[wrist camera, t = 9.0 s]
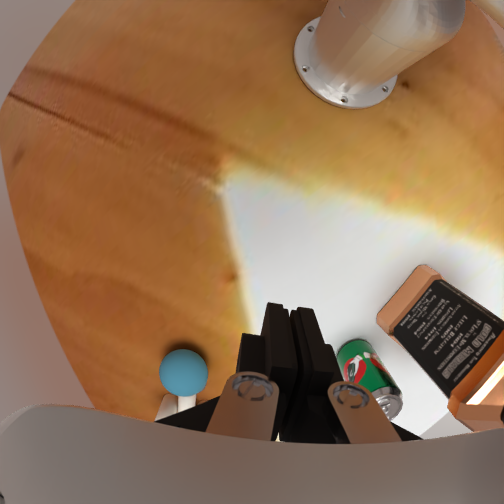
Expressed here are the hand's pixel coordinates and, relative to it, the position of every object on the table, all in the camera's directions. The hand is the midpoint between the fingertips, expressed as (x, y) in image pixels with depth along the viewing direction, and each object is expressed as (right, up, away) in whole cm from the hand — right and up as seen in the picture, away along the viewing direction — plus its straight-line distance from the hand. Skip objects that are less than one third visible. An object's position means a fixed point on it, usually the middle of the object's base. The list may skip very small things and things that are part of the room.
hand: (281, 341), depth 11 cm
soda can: (+12, -10, +28) cm, 33 cm away
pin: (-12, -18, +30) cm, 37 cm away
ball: (-9, -11, +25) cm, 29 cm away
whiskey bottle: (+21, -5, +27) cm, 35 cm away
